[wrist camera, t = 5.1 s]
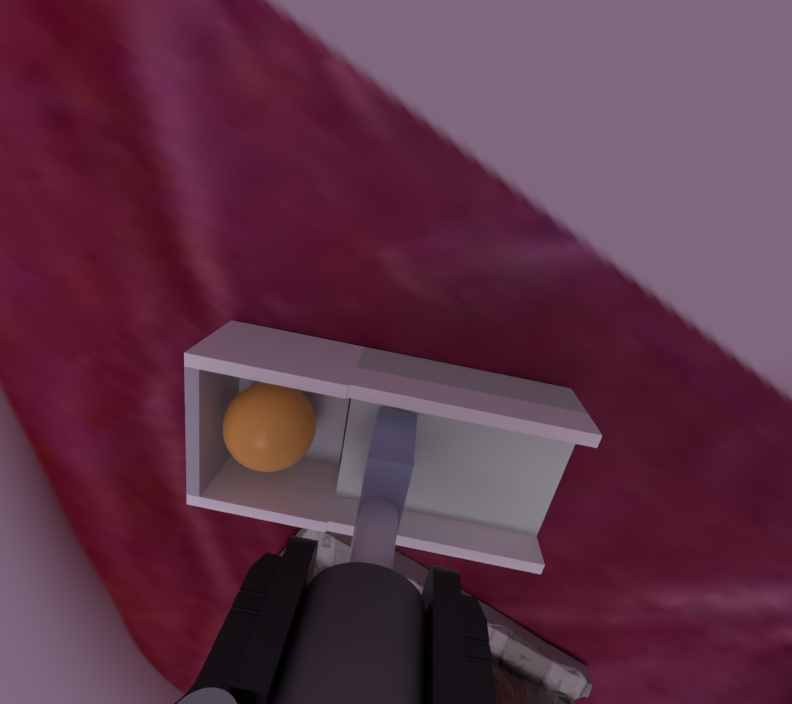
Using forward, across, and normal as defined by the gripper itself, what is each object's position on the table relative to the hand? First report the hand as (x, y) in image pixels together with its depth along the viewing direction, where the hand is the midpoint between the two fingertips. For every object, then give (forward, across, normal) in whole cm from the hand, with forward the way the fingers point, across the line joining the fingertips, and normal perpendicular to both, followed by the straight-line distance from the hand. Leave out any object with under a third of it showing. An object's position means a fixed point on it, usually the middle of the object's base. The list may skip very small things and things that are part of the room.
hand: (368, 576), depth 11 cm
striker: (+5, 0, 0) cm, 5 cm away
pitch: (+8, -2, 0) cm, 8 cm away
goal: (+8, +4, 0) cm, 9 cm away
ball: (+6, +5, 0) cm, 7 cm away
